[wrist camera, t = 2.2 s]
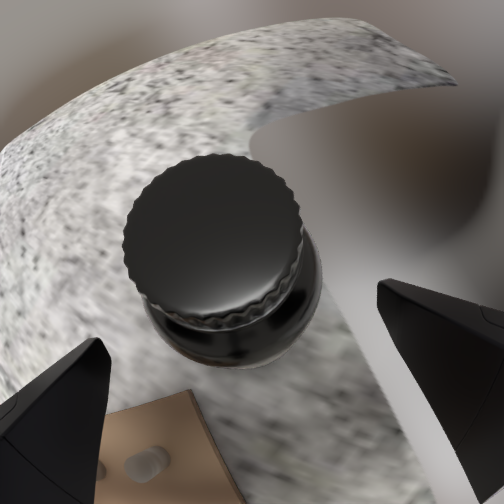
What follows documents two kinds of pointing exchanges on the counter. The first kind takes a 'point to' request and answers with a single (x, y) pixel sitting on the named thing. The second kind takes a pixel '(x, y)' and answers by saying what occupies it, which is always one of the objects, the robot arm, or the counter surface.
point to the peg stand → (162, 457)
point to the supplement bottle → (223, 261)
